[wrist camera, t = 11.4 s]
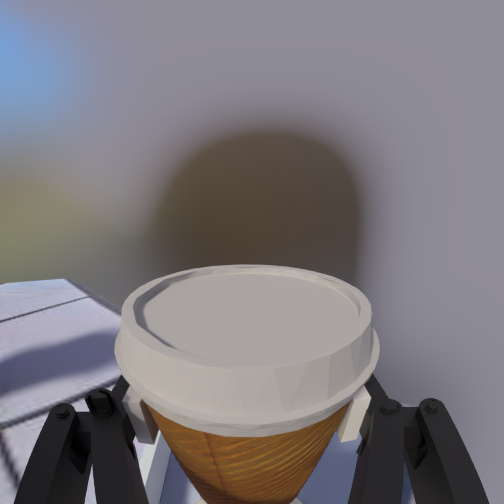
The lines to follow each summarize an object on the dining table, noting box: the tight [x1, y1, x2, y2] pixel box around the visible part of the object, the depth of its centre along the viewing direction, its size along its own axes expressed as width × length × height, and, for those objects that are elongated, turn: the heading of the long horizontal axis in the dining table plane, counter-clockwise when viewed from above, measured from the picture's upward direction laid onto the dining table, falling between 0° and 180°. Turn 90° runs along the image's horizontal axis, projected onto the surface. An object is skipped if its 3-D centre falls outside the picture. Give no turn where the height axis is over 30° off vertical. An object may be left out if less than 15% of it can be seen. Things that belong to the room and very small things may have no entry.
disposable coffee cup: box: [114, 265, 380, 504], centre depth 11 cm, size 10×10×12 cm
